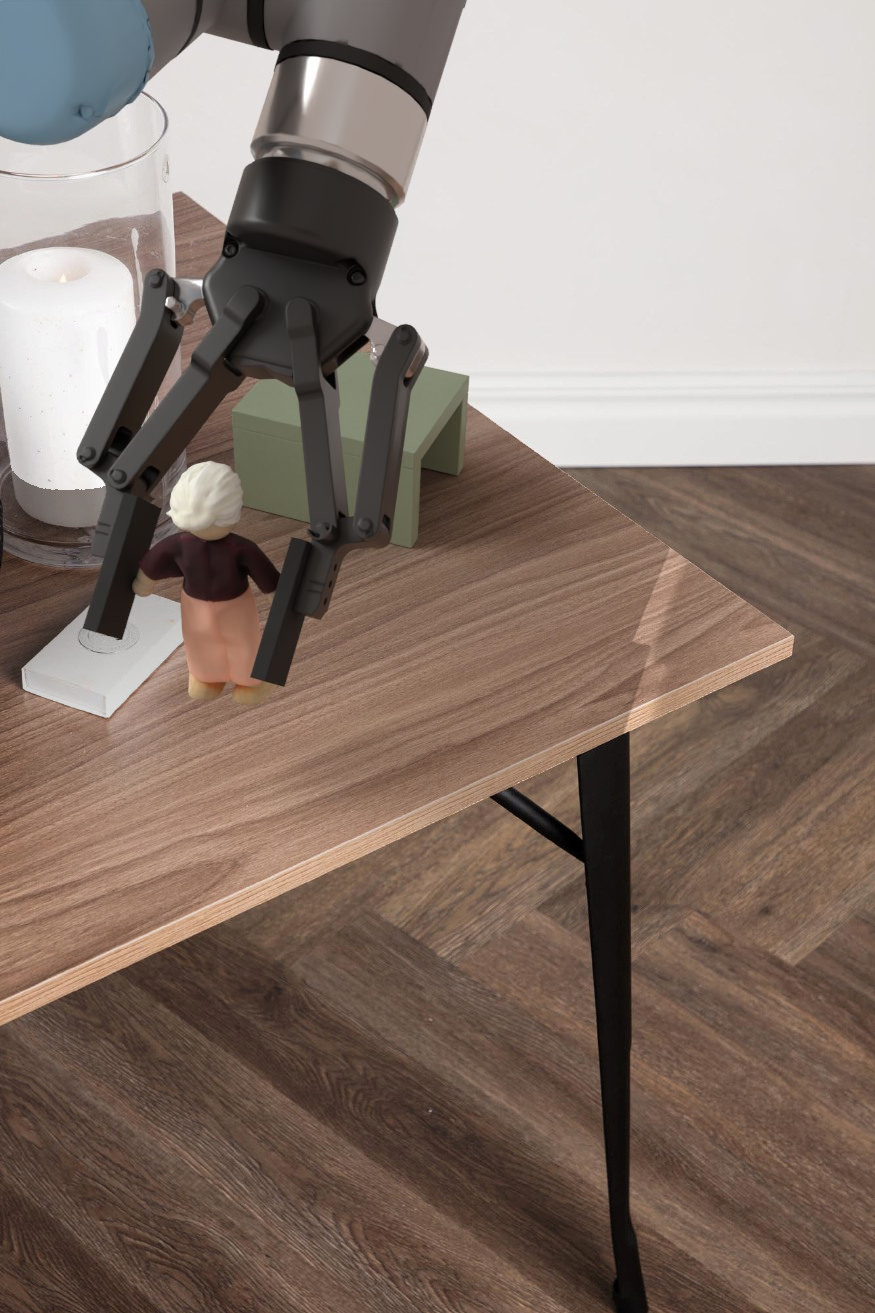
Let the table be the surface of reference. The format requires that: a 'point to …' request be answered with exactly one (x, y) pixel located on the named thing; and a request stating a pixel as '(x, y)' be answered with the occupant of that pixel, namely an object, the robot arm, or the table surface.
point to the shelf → (347, 441)
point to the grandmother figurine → (213, 583)
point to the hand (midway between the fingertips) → (184, 657)
